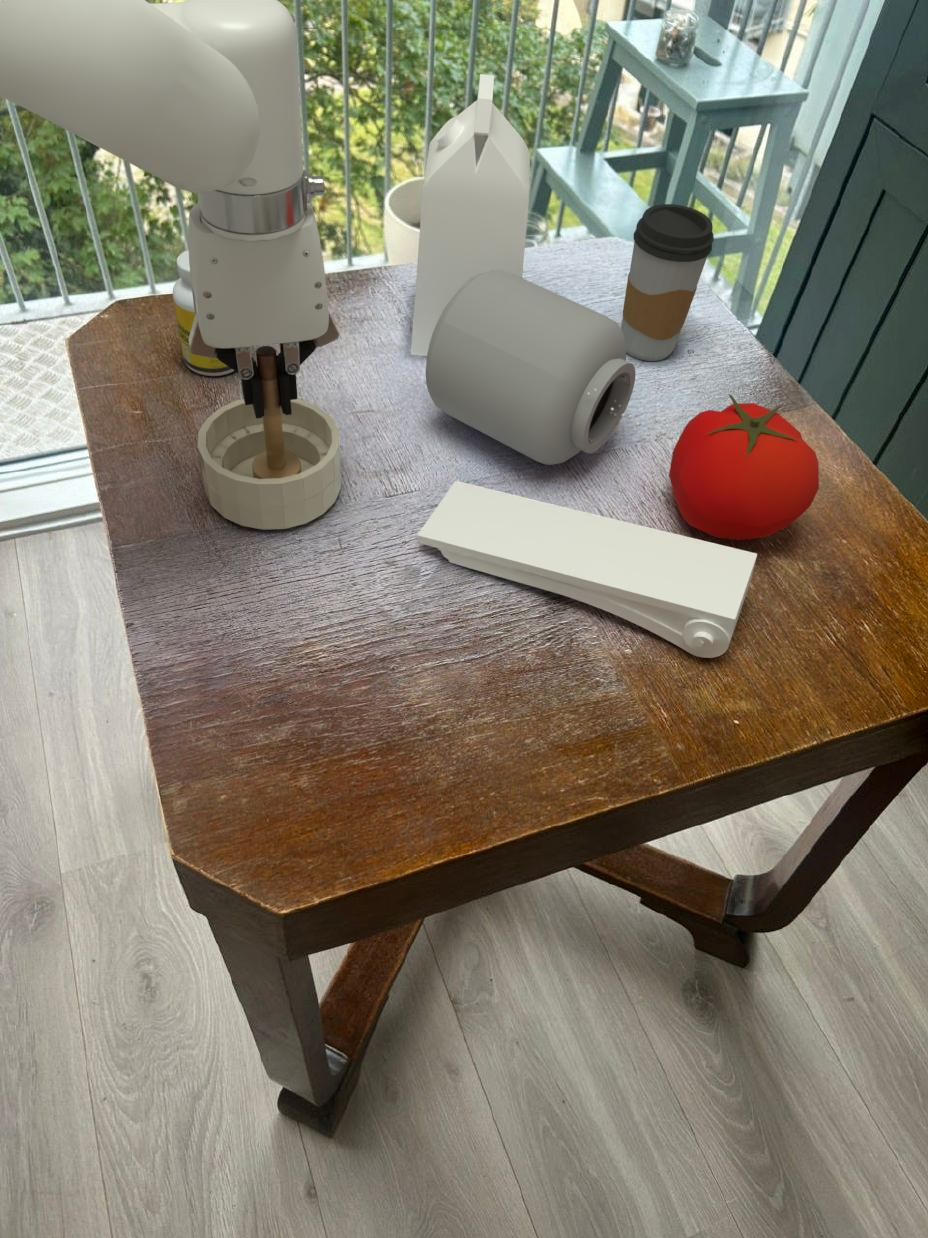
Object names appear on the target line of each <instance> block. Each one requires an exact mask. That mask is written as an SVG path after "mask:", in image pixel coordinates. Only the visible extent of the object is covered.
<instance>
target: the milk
mask: <svg viewBox="0 0 928 1238" xmlns="http://www.w3.org/2000/svg"><path fill="white" fill-rule="evenodd" d="M478 81H479V82H478V89H477V98H476V100H475V101H474V102H472V103H471V104H470V105H469V106H468V107H466V108H465V109H464V110H462V111H461V112H460V113H459V114H457V115H456V116H454V117H451V118H449V120H447V121H446V122H445V124H443V126H442V127H440V129H439V130H438V131H437V132H436V134H435V135H434V136H433V138H432V140H431V141H430V142H429V145H428V153H427V157H426V158H427V159H426V165H425V171H424V177H423V186H422V194H421V195H422V197H421V208H420V209H421V210H420V222H419V223H420V224H419V236H418V237H419V238H418V247H417V248H418V251H417V261H416V262H417V263H416V277H415V278H416V279H415V289H414V301H413V304H414V305H413V318H412V319H413V320H412V328H411V329H412V331H411V344H410V356H419V357H427V353H428V348H429V343H430V340H431V337H432V334H433V331H434V329H435V326H436V324H437V322H438V319H439V318H440V316H441V314H442V312H443V310H444V309H445V307H446V306H447V304H448V303H449V301H450V300H451V299H452V297H453V296H454V295H455V294H456V293H457V292H458V291H459V289H460V288H461V287H462V286H463V285H464V284H465V283H467V282H468V281H469V280H470V279H471V278H473V277H475V276H476V275H478V274H480V273H484V272H487V271H491V270H502V271H505V272H509V273H511V274H514V275H516V276H518V277H520V278H522V279H523V273H524V262H525V250H526V240H527V229H528V228H527V227H528V216H529V207H530V192H531V191H530V190H531V187H530V186H531V151H530V150H529V148H528V145H527V144H526V142H525V140H524V139H523V137H522V136H521V135H520V133H519V132H518V131H517V130H516V129H515V127H514V126H513V125H512V124H511V122H509V120H508V119H507V118H506V116H504V115H503V113H502V112H501V111H500V109H498V108H497V106H496V105H495V104H494V103H493V98H494V85H495V75H492V74H483V73H480V74H479V80H478Z"/></svg>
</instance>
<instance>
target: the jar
mask: <svg viewBox="0 0 928 1238" xmlns="http://www.w3.org/2000/svg"><path fill="white" fill-rule="evenodd" d="M425 364H426V365H425V385H426V388H427V390H428V391H427V392H428V394H429V396H430V399H431V400H432V402H433V404H434V406H435V407H437V408H438V409H439V410H440V411H442V412H444V413H445V414H446V415H448V416H449V417H451V418H453V419H456V420H457V421H458V422H461V423H463V424H465V425H467V426H469V427H470V428H473V429H475V430H477V431H478V432H480V433H482V434H484V435H486V436H488V437H490V438H492V439H493V440H496V441H497V442H499V443H501V444H503V445H504V446H506V447H509V448H510V449H513V450H514V451H516V452H519V453H520V454H522V455H524V456H526V457H528V458H529V459H531V460H533V461H535V462H537V463H541V464H542V465H548V466H552V465H558V464H562V463H565V462H567V461H568V460H570V459H571V458H572V457H574V456H576V455H577V454H579V453H580V452H581V451H582V452H584V453H586V454H593V453H595V452H596V451H598V450H599V449H600V448H601V447H602V446H604V445H605V444H606V442H607V441H608V439H609V438H610V437H611V436H612V434H613V433H614V432H615V430H616V428H617V427H618V425H619V423H620V422H621V420H622V418H623V417H625V413H626V409H627V407H628V405H629V403H630V401H631V397H632V394H633V392H634V387H635V383H636V367H635V365H634V364H633V363H631V362H629V361H627V353H626V343H625V337H624V335H623V333H622V331H621V326H620V325H619V324H618V322H616V321H615V320H613V319H611V318H610V317H608V316H607V315H605V314H603V313H600V312H598V311H596V310H594V309H592V308H589V307H586V306H585V305H583V304H580V303H579V302H578V303H577V302H576V301H573V300H571V299H569V298H567V297H565V296H563V295H561V294H558V293H555V292H553V291H551V290H550V289H547V288H544V287H543V286H540V285H538V284H537V283H535V282H534V283H533V282H531V281H529V280H527V279H525V278H523V277H522V278H520V277H518V276H516V275H514V274H511V273H509V272H505V271H502V270H491V271H487V272H484V273H480V274H478V275H476V276H475V277H473V278H471V279H470V280H469V281H468V282H467V283H465V284H464V285H463V286H462V287H461V288H460V289H459V291H458V292H457V293H456V294H455V295H454V296H453V297H452V299H451V300H450V301H449V303H448V304H447V306H446V307H445V309H444V310H443V312H442V314H441V316H440V318H439V319H438V322H437V324H436V326H435V329H434V331H433V334H432V337H431V340H430V343H429V348H428V353H427V356H426V363H425ZM627 419H629V420H631V419H633V415H632V414H628V416H627ZM654 421H655V423H658V422H659V419H658V418H655V420H654ZM634 425H635V426H636V427H640V426H641V422H640V421H636V422H635V423H634ZM666 435H667V431H666V430H665V429H661V431H660V432H659V433H657V434H656V435H655V437H656V439H660V437H661V436H662V437H664V436H666ZM646 436H647V437H650V436H651V433H649V432H648V433H646ZM668 439H669V440H673V439H674V436H673V434H669V435H668Z"/></svg>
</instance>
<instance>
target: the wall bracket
mask: <svg viewBox="0 0 928 1238" xmlns="http://www.w3.org/2000/svg"><path fill="white" fill-rule="evenodd" d="M416 540H417V544H421V545H424V546H428V547H432V548H436V549H438V551H439V552H441V554H442V556H443V558H445V559H447V560H448V563H451V564H454V565H457V566H461V567H464V568H468V569H471V570H475V571H479V572H482V573H485V574H488V575H492V576H495V577H499V578H501V579H502V578H503V579H506V580H509V581H513V582H517V583H518V584H519V583H520V584H523V585H527V586H530V587H533V588H536V589H541V590H544V591H547V592H550V593H554V594H557V595H562V596H563V597H567V598H570V599H573V600H576V601H578V602H581V603H584V604H587V605H590V606H592V607H595V608H597V609H600V610H602V611H605V612H608V613H610V614H612V615H615V616H617V617H619V618H622V619H623V620H626V621H628V622H631V623H632V624H635V625H636V626H639V627H640V628H642V629H645V630H647V631H649V632H651V633H653V634H655V635H657V636H658V637H661V638H662V639H664V640H666V641H668V642H670V643H671V644H673V645H675V646H677V647H679V648H680V649H682V650H684V651H685V652H686V653H689V654H690V655H692V656H695V657H699V658H704V659H712V658H717V657H720V656H722V655H724V654H725V653H726V651H727V650H728V649H729V647H730V644H731V641H732V638H733V634H734V632H735V629H736V627H737V623H738V620H739V617H740V614H741V611H742V608H743V605H744V601H745V600H746V596H747V594H748V590H749V589H750V585H751V582H752V580H753V579H752V578H753V573H754V570H755V569H754V568H755V565H756V561H757V557H758V553H757V552H752V551H747V550H744V549H740V548H736V547H731V546H727V545H723V544H719V543H715V542H710V541H706V540H702V539H698V538H694V537H690V536H686V535H682V534H679V533H674V532H669V531H665V530H662V529H657V528H652V527H648V526H644V525H640V524H636V523H632V522H628V521H624V520H619V519H616V518H612V517H608V516H603V515H598V514H595V513H591V512H588V511H587V512H586V511H583V510H578V509H575V508H570V507H566V506H563V505H558V504H553V503H549V502H545V501H541V500H537V499H533V498H530V497H525V496H521V495H517V494H513V493H508V492H504V491H500V490H496V489H492V488H487V487H483V486H479V485H475V484H471V483H467V482H462V481H459V480H455V481H454V482H453V484H452V485H451V486H450V487H449V489H448V490H447V492H446V493H445V495H444V496H443V497H442V499H441V501H439V503H438V505H437V506H436V507H435V509H434V510H433V512H432V513H431V515H430V516H429V517H428V519H427V520H426V521H425V523H424V525H423V526H422V528H421V529H420V530H419V531H418V532H417V535H416Z"/></svg>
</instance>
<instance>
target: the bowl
mask: <svg viewBox="0 0 928 1238" xmlns="http://www.w3.org/2000/svg"><path fill="white" fill-rule="evenodd" d="M280 406H281V405H280ZM291 412H292V414H291V415H285V414H283V413H282V409H281V418H282V430H283V442H284V450H286V451H289V452H291V453H293V454H295V455H296V456H297V457H298V458H299V460H300V462H301V473H299V474H295V475H291V476H287V477H283V478H270V479H257V478H253V471H252V463H253V461H254V459H255V458H256V457H257V456H258V455H259V454H261V453H263V452H265V451H266V445H265V435H264V425H263V416H262V418H258V419H256V416H255V412H254V408H253V404H252V405H245V402H244V398H240V399H237V400H235V401H232V402H230V403H227V404H226V405H223V406H221V407H219V408H218V409H217V410H215V411H214V412H213V413H211V415H209V416H208V417H207V418H206V419H205V420H204V422H203V424H202V425H201V427H200V429H199V431H198V433H197V445H196V448H197V451H198V457H199V464H200V470H201V475H202V481H203V487H204V492H205V496H206V497H207V499H208V502H209V504H210V506H211V507H212V508H213V509H214V510H216V512H218V513H219V514H220V515H221V516H222V517H223V518H224V519H226V520H229V521H230V522H232V523H235V524H237V525H239V526H241V527H245V528H246V527H247V528H252V529H258V530H262V531H263V530H286V529H291V528H295V527H297V526H302V525H306V524H308V523H310V522H312V521H313V520H315V519H317V518H319V517H321V516H322V515H324V514H325V513H326V512H327V511H328V510H329V509H330V508H331V507H332V506H333V505H334V504H335V503H336V501H337V498H338V497H339V494H340V493H341V489H342V474H341V473H342V471H341V470H342V469H341V442H340V441H341V440H340V430H339V427H338V426H337V423H336V422H335V420H334V418H333V417H332V416H331V415H330V414H329V413H327V412H326V411H324V409H322V408H321V407H319V406H318V405H316V404H313V403H311V402H309V401H306V400H304V399H302V398H299V397H297V399H295V400H291Z"/></svg>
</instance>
